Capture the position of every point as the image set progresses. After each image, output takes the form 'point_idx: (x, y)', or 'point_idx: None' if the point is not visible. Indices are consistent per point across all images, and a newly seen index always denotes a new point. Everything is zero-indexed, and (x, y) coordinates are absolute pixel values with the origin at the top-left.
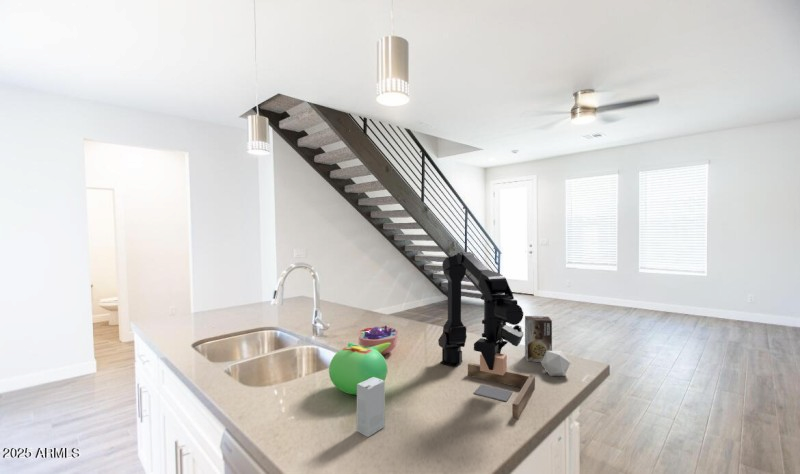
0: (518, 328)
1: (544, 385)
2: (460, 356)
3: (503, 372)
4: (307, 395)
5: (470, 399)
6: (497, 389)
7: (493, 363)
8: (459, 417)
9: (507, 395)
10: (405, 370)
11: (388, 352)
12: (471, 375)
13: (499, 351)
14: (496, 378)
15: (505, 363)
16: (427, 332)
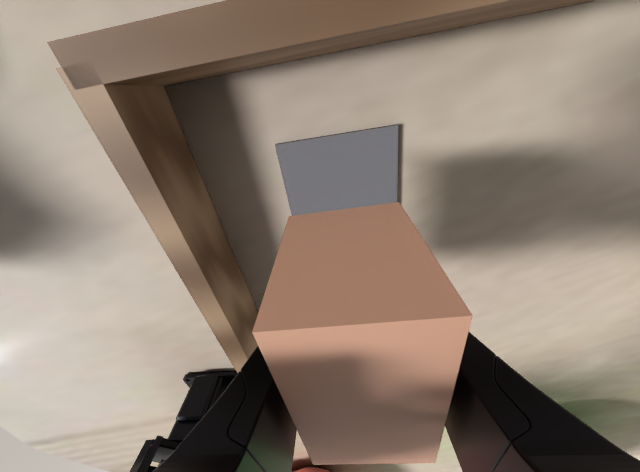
0: None
1: (23, 19)
2: (199, 399)
3: (385, 213)
4: None
5: (448, 253)
6: (304, 211)
7: None
8: (626, 222)
9: (333, 148)
10: None
11: (306, 470)
12: None
13: (260, 418)
14: (225, 254)
15: (322, 255)
16: (115, 465)
